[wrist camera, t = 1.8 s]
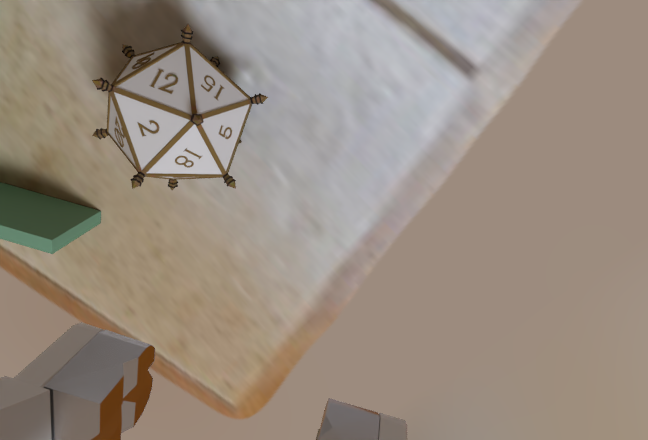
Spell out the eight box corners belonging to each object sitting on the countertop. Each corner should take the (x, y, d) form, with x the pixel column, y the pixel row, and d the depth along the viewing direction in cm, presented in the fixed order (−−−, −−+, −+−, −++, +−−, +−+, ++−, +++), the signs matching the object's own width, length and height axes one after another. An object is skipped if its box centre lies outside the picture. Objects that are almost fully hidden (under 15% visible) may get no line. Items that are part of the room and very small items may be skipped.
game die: (234, 125, 33) (167, 244, 28) (128, 37, 29) (29, 159, 24) (315, 77, 26) (246, 221, 22) (194, -46, 22) (76, 98, 17)
